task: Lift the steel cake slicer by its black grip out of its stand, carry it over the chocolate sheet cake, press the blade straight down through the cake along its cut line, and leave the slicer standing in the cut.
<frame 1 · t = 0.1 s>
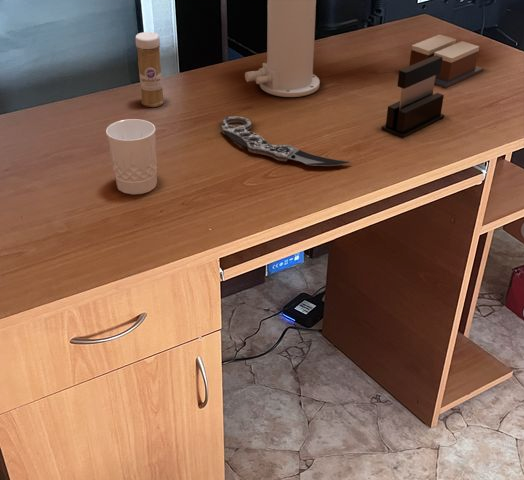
cake: (441, 71, 172), on the table
knife: (274, 149, 143), on the table
white cup: (136, 186, 133), on the table
cake slicer: (413, 120, 151), point 1 cm above the table, touching slicer stand
sprinkles bottle: (153, 104, 158), on the table
slicer stand: (413, 123, 151), on the table
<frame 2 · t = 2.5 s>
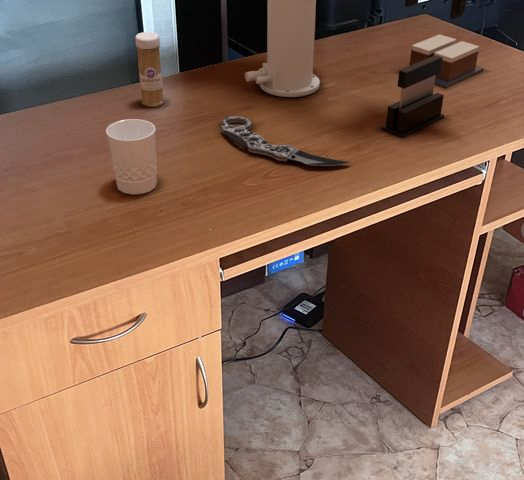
hand: (433, 11, 140), 20 cm above the table, tool pointing down, fingers open, 9 cm apart
nothing on the table moved.
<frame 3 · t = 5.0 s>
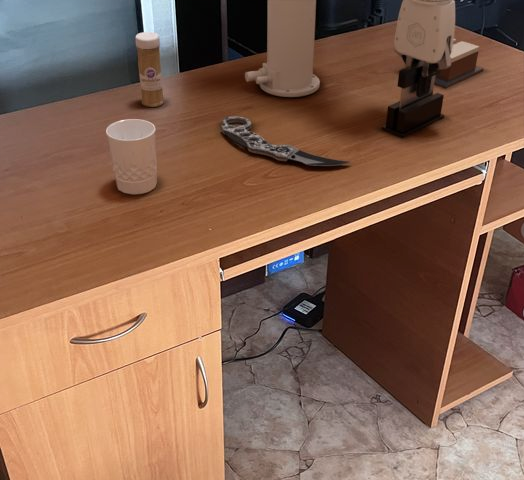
hand: (417, 92, 147), 6 cm above the table, tool pointing down, fingers closed on cake slicer, 1 cm apart
cake slicer: (413, 120, 151), point 1 cm above the table, touching gripper
everything else where it was.
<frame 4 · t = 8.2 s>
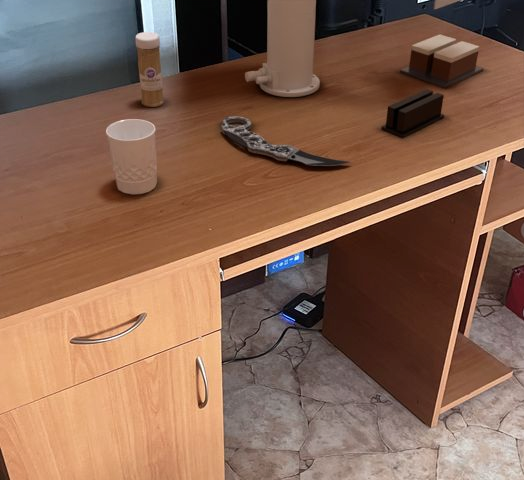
cake slicer: (449, 3, 158), point 16 cm above the table, touching gripper
everything else where it was.
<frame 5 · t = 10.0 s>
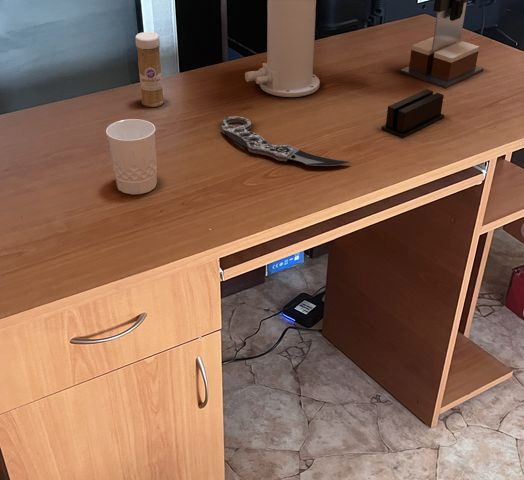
hand: (450, 17, 164), 11 cm above the table, tool pointing down, fingers closed on cake slicer
cake slicer: (446, 44, 168), point 6 cm above the table, touching gripper
everything else where it was.
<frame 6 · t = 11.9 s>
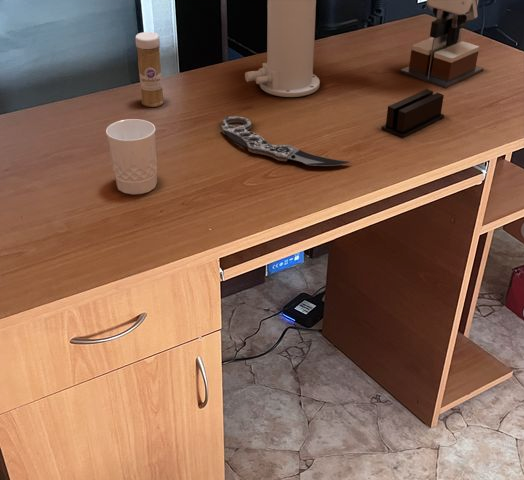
hand: (446, 42, 168), 6 cm above the table, tool pointing down, fingers closed
cake slicer: (442, 68, 171), point 1 cm above the table, touching cake
everything else where it was.
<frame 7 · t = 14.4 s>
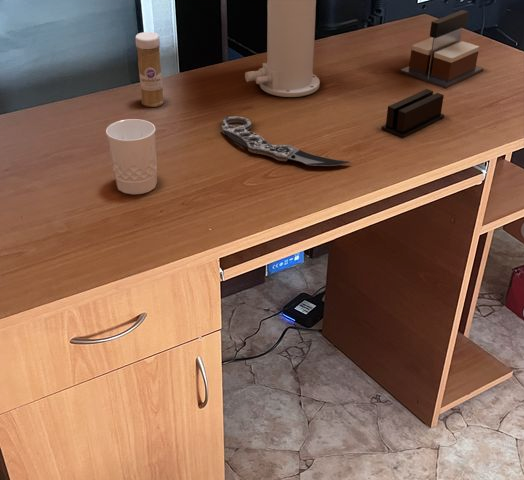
nothing on the table moved.
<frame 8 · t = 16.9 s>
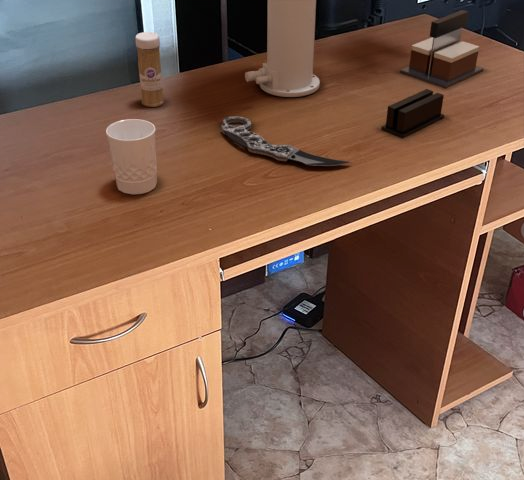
nothing on the table moved.
at the end: cake slicer 0.1 cm off-centre on the cake, point 0.6 cm above the cake's base; cake slicer tilted 0°; the gripper is holding nothing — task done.
